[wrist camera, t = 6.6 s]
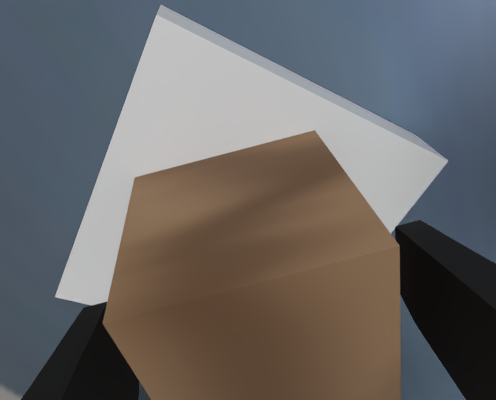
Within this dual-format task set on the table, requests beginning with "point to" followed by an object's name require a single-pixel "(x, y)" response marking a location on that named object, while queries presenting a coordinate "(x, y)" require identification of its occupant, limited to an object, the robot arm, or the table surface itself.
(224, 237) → the walnut cube
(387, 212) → the white slab
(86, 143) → the table surface
